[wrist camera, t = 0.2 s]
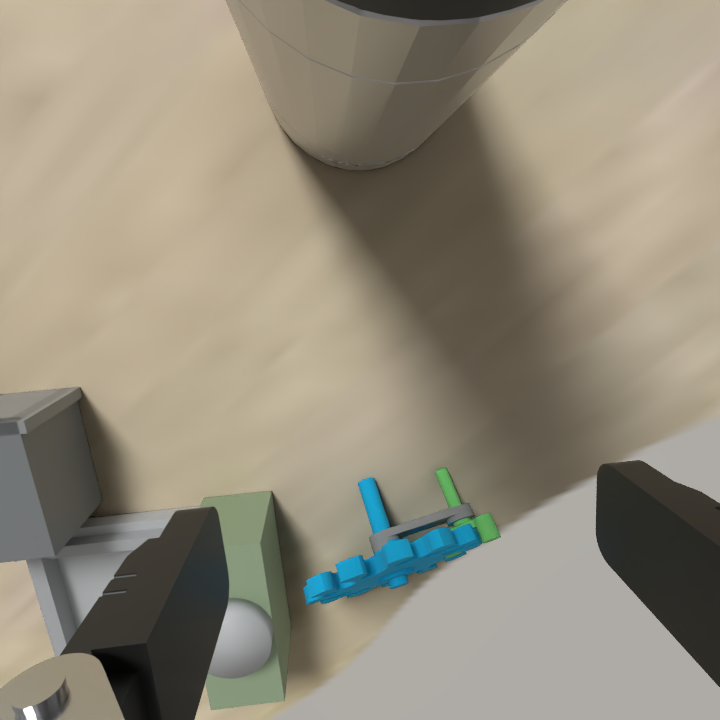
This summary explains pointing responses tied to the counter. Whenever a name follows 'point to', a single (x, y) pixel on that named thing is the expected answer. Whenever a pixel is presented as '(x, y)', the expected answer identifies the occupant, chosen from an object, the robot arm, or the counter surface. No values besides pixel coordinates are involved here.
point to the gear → (403, 545)
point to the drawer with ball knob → (245, 604)
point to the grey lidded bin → (43, 473)
